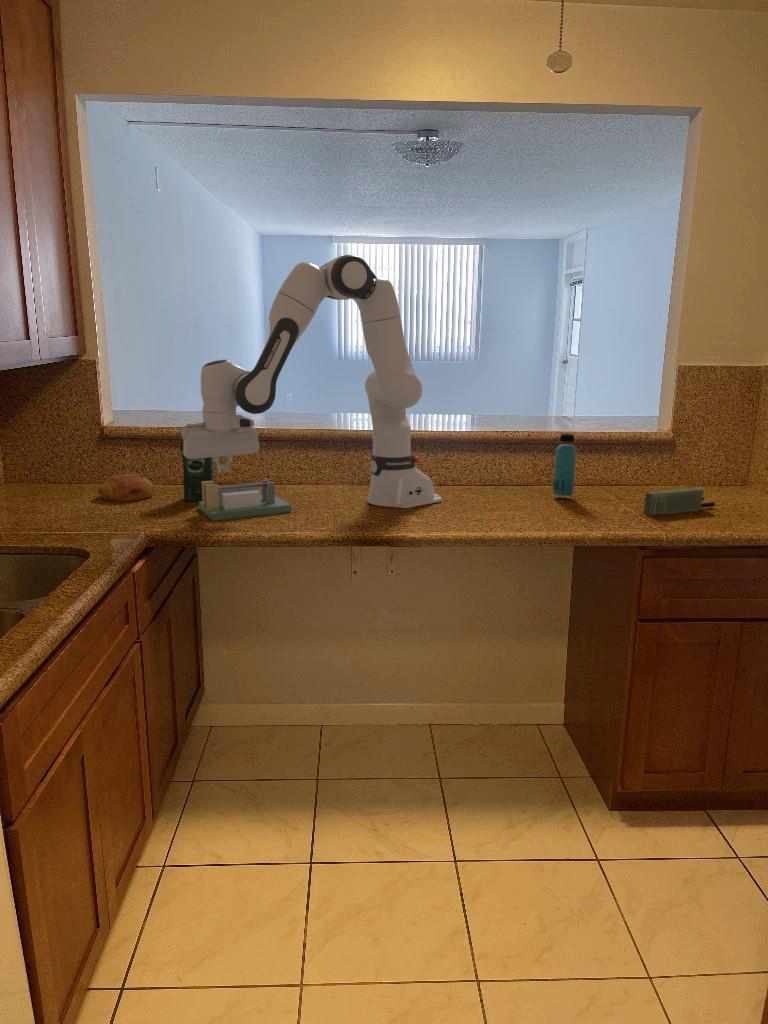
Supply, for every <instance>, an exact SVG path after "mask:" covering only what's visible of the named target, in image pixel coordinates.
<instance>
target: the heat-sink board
mask: <svg viewBox="0 0 768 1024" xmlns="http://www.w3.org/2000/svg"><path fill="white" fill-rule="evenodd" d="M266 480H267V481H269V482H270V480H269V479H261V481H260V482H265V481H266ZM266 484H267V486H261V491H259V490H258V489H256V487H250V488H239V489H229V490H218V486H219V484H218V483H215V484H214V482H213V481H204V482H202V498H203V501H198V508H199V510H201V512H203V514H205V515H206V516H207V517H208V518H209V519H210V520H212V521H215V522H216V521H223V520H230V519H231V520H232V519H241V518H242V519H243V518H250V517H258V516H266V515H267V516H268V515H275V514H284V513H291V512H292V504H290V503H289V502H287V501H285V500H284V499H282V498H280V497H278V496H277V495H276V490H275V482H271V483H266Z"/></svg>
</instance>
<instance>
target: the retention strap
mask: <svg viewBox="0 0 768 1024" xmlns="http://www.w3.org/2000/svg"><path fill="white" fill-rule="evenodd" d="M265 480H266V481H265V482H262V481H257V482H249V483H238V484H230V485H229V484H228V485H218V490H229V489H239V488H250V487H253V488H259V487H262V486H267V484H266V483H272V482H271V481H270V480H269V481H267V480H268V479H265Z"/></svg>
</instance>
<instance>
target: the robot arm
mask: <svg viewBox="0 0 768 1024" xmlns="http://www.w3.org/2000/svg"><path fill="white" fill-rule="evenodd" d="M395 291H396V290H395V289H394V286H393V284H392V283H391V281H390V280H389V279H388V278H385V277H380V276H377V275H375V273H374V272H373V270H372V268H371V267H370V265H369V264H368V263H367V261H365V260H364V259H363V258H362V257H360V256H358V255H356V254H344V255H340V256H337V257H335V258H333V259H331V260H330V261H328V262H326V263H324V264H323V265H322V266H318V265H316V264H314V263H311V262H307V261H303V262H299V263H298V264H296V265H295V266H294V267H293V269H292V270H291V272H290V273H289V274H288V275H287V276H286V278H285V280H284V282H283V283H282V285H281V286H280V288H279V289H278V292H277V294H276V296H275V298H274V300H273V303H272V305H271V308H270V311H269V315H268V323H269V332H268V333H269V334H268V338H267V341H266V343H265V346H264V347H263V349H262V351H261V353H260V356H259V357H258V360H257V362H256V364H255V366H254V367H253V368H252V370H248V369H245V368H243V367H241V366H240V365H237V364H236V363H233V362H232V361H231V360H229V359H218V360H212V361H210V362H207V363H205V364H204V365H203V366H202V368H201V371H200V394H201V395H200V397H201V398H202V402H203V403H202V405H203V406H202V422H198V423H197V422H195V423H186V425H184V426H183V427H182V428H181V439H183V440H184V445H183V453H184V456H185V457H186V458H188V459H198V458H209V457H212V462H213V463H214V464H215V466H216V472H217V473H218V474H221V473H229V472H230V466H231V465H232V462H233V460H234V459H233V458H234V457H233V456H239V455H249V454H250V455H251V454H257V453H258V452H259V451H260V441H259V435H258V432H257V430H256V429H255V428H254V427H255V420H254V419H253V418H250V417H247V416H243V415H240V414H237V407H240V408H241V410H243V411H244V412H246V413H248V414H251V415H252V414H253V415H257V414H260V415H261V414H262V413H265V412H267V411H268V410H269V409H271V407H272V406H273V404H274V402H275V399H276V395H277V394H276V390H277V381H278V378H279V376H280V374H281V371H282V370H283V367H284V365H285V363H286V361H287V360H288V357H289V354H290V352H291V351H292V349H293V347H294V346H295V345H296V343H297V342H298V340H299V339H300V337H301V336H302V335H303V334H304V332H305V331H306V330H307V328H308V326H309V325H310V323H311V322H312V321H313V318H314V316H315V314H316V313H317V311H318V308H319V306H320V305H321V303H322V302H323V301H324V299H325V298H329V299H331V300H338V301H339V300H340V301H341V300H344V301H345V300H346V301H347V300H353V301H354V302H355V304H356V305H357V308H358V310H359V314H360V322H361V327H362V332H363V339H364V344H365V350H366V353H367V354H368V356H369V359H370V361H371V364H372V366H373V368H374V371H371V372H370V374H368V376H367V377H366V379H365V381H364V382H365V384H364V389H365V393H366V395H367V399H368V405H369V413H370V417H371V418H370V419H371V425H372V454H371V459H370V460H371V461H370V462H371V463H370V472H371V478H370V479H371V481H370V486H369V491H368V495H367V499H366V503H369V504H371V505H374V506H378V507H388V508H399V509H400V508H401V509H410V508H415V507H420V506H425V505H430V504H434V503H440V502H442V497H441V495H439V494H437V493H435V489H434V487H435V486H434V483H433V481H432V479H431V478H430V477H428V475H426V474H425V473H423V472H422V471H421V470H420V469H419V468H417V466H416V464H417V465H418V464H421V463H422V461H423V458H422V457H421V456H417V455H416V456H414V455H412V454H411V442H412V441H411V440H412V439H411V434H412V433H411V431H412V429H411V425H410V423H409V420H408V416H407V412H406V409H409V408H413V407H414V406H415V405H417V404H418V403H419V401H420V399H421V398H422V395H423V386H422V383H421V381H420V379H419V378H418V376H417V374H416V371H415V369H414V367H413V364H412V360H411V357H410V355H409V352H408V348H407V346H406V345H407V344H406V342H405V341H406V340H405V335H404V334H405V333H404V330H403V329H404V328H403V323H402V316H401V310H400V306H399V303H398V301H399V300H398V297H397V295H396V292H395ZM221 457H225V459H226V461H225V463H224V464H223V465H222V464H220V462H219V461H220V458H221Z"/></svg>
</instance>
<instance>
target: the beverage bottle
mask: <svg viewBox="0 0 768 1024" xmlns="http://www.w3.org/2000/svg"><path fill="white" fill-rule="evenodd" d="M559 442H564V443H565V442H566V443H573V442H575V435H574V434H572V433H561V434H560V438H559ZM577 451H578V449H577V447H575V445H573V444H559V445H558V446H556V448H555V458H554V466H553V467H554V471H553V481H552V494H553V495H555V496H561V497H570V496H574V491H575V480H576V479H575V478H576V472H575V471H576V461H577Z"/></svg>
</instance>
